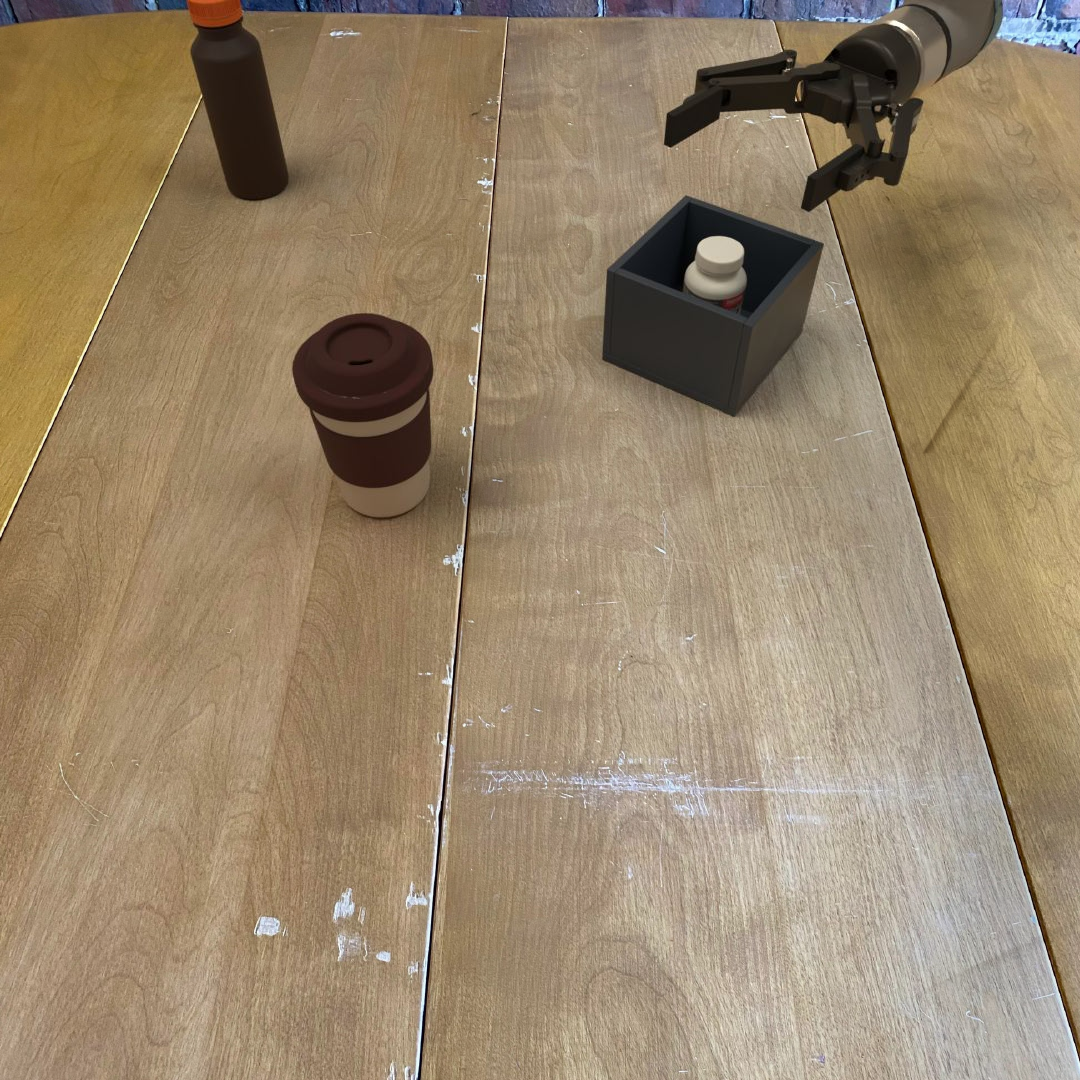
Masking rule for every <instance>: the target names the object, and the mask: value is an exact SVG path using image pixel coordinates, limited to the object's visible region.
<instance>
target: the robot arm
mask: <svg viewBox="0 0 1080 1080" xmlns="http://www.w3.org/2000/svg"><path fill="white" fill-rule="evenodd" d="M1003 18H1004V5H1003V0H904V1H903V3H902V4H901V5H900V6H898V7H896V8H895V9H893V10H891V11H890V12H888V13H886V14H885V15H883V16H881V17H879V18H877V19H875V20H874V21H872V22H870V23H869V24H867V25H866V26H864V27H863V28H861V29H859V30H858V31H856V32H855V33H853V34H851V35H849V36H847V37H846V38H844V39H842V40H841V41H840V42H839V43H837V44H836V45H835V46H834V48H832V49H831V51H830V52H829V53H828V55H827V56H826V57H825V58H824V59H823V61H819V62H816V63H815V62H814V63H810V64H808V65H804V64H802V63H800V62H798V61H797V57H798V52H797V50H795V49H784V50H783V51H780V52H778V53H775V54H773V55H769V56H764V57H758V58H753V59H747V60H742V61H736V62H730V63H725V64H718V65H714V66H709V67H703V68H698V69H697V70H696V75H695V83H694V91H693V94H691V95H689V96H687V97H685V98H684V100H683V101H682V104H680V105H679V106H677V107H675V108H673V109H671V110H670V111H668V112H666V116H665V128H664V138H663V145H664V146H665V147H668V148H670V149H671V148H673V147H675V146H677V145H678V144H680V143H682V142H684V141H685V140H686V139H688V138H690V137H692V136H693V135H695V134H696V133H699V132H700V131H702V130H703V129H705V128H707V127H708V126H710V125H712V124H714V123H715V122H717V121H718V120H720V116H721V113H733V112H749V111H750V112H751V111H767V110H768V111H769V110H784V112H785V114H787V115H797V114H810V115H812V116H816V117H819V118H822V119H823V120H825V121H827V122H829V123H831V124H833V125H837V124H841V125H842V127H843V128H844V131H845V136H846V139H847V140H850V144H851V146H850V147H848V148H847V149H845V150H844V151H842V152H841V153H840V154H838V155H837V156H835V157H833V158H832V159H830V160H829V161H828V162H826V163H825V164H823V165H821V166H820V167H819V168H818V169H816V170H815V171H813V172H812V173H810V174H809V175H808V176H807V179H806V183H805V188H804V192H803V195H802V202H801V205H800V210H803V211H805V212H807V213H810V212H812V211H813V210H814V209H816V208H817V207H818V206H820V205H821V204H822V203H824V202H826V201H827V200H829V199H830V198H831V197H833V196H834V195H836V194H837V193H838V192H840V191H843V192H846V193H847V192H851V191H854V189H856V188H858V187H859V186H860V185H861V184H863V183H864V182H866V181H873V180H874V179H875V178H881V179H883V183H884V184H885V185H887V186H890V187H895V186H898V185H899V184H900V181H901V178H902V174H903V171H904V168H905V164H906V160H907V158H908V154H909V149H910V148H909V147H910V141H911V136H912V135H913V134H914V133H915V132H916V128H917V126H918V122H919V120H920V119H919V118H920V116H921V113H922V109H923V105H924V100H923V99H922V98H919V97H918V96H919V95H921V94H922V93H924V92H925V91H926V90H928V89H929V88H931V87H933V86H934V85H936V84H937V83H938V82H939V81H941V80H943V79H944V78H946V77H947V76H949V75H951V74H952V73H954V72H956V71H958V70H959V69H962V68H964V67H966V66H967V65H969V64H970V63H972V62H973V61H974V59H975V58H977V57H978V56H979V55H980V53H982V51H984V50H985V49H986V48H987V47H988V46H989V45H990V44H992V42H993V41H994V40H995V38H996V36H997V35H998V33H999V31H1000V29H1001V27H1002V23H1003ZM799 83H800V85H799ZM799 87H800V88H799ZM798 88H799V89H800V90H799V91H800V100H796V98H797V92H798ZM886 118H888V119H889V120H888V123H889V124H890V125H891V126H890V130H889V131H890V132H891V133H892V134H891V138H890V141H889V146H888V147H889V148H888V152H884V151H883V150H884V145H885V142H886V138H883V139H882V138H881V137H880V134H879V131H878V127H877V124H878V123H880V122H882V121H883V120H885V119H886Z"/></svg>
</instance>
